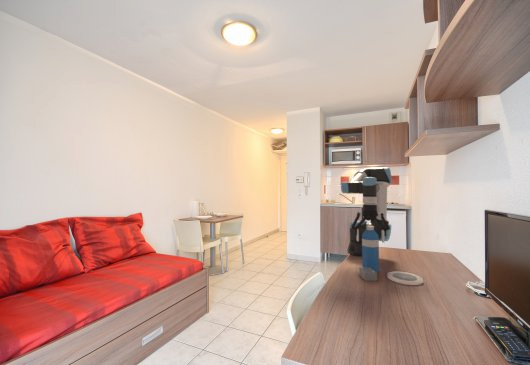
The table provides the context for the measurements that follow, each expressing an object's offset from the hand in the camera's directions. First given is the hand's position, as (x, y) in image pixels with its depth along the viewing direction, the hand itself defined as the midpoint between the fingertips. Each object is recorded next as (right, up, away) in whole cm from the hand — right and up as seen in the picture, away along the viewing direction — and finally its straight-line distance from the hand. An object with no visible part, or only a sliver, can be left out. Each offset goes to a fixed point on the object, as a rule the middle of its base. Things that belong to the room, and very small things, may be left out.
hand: (370, 241), depth 137 cm
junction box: (-6, -16, -12) cm, 21 cm away
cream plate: (+12, -16, -14) cm, 24 cm away
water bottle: (0, -17, 0) cm, 17 cm away
